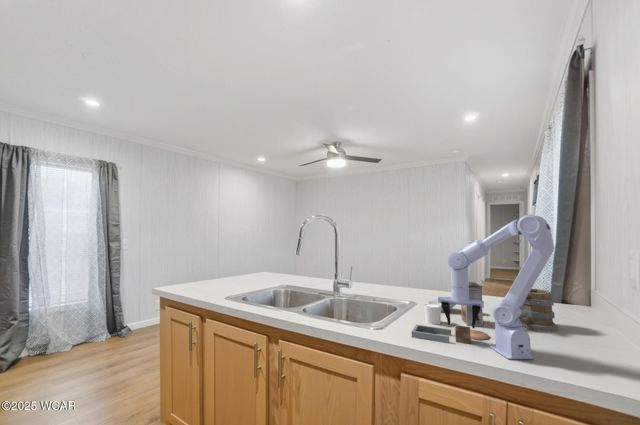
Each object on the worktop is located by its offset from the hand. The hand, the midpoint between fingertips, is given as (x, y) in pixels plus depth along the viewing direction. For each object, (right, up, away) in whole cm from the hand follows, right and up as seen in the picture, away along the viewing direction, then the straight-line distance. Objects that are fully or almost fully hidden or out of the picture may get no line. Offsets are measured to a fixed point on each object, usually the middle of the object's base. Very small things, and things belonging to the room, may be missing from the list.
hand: (461, 325), depth 103 cm
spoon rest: (+14, -8, +37) cm, 40 cm away
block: (0, -5, -1) cm, 5 cm away
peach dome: (+7, -5, +4) cm, 10 cm away
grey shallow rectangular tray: (-8, -5, +4) cm, 11 cm away
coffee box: (+14, -7, +19) cm, 25 cm away
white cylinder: (-2, -7, +20) cm, 22 cm away
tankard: (+34, -6, +14) cm, 37 cm away
